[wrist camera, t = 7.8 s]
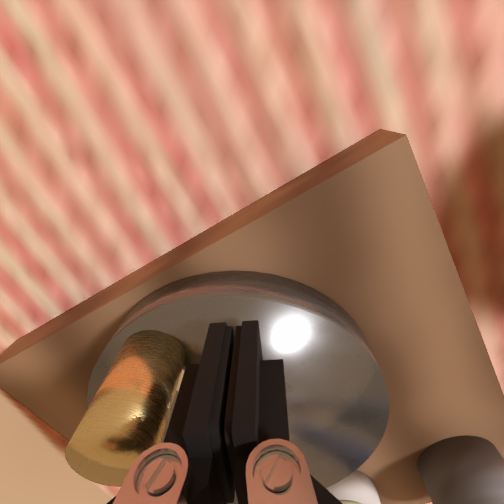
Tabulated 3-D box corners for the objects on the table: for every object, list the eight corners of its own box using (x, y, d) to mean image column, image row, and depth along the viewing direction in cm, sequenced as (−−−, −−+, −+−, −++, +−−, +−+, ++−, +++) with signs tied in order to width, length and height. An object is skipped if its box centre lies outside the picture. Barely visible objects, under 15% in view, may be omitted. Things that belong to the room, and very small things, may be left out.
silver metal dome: (53, 369, 15) (-59, 514, 10) (260, 207, 12) (262, 300, 6) (228, 491, 20) (216, 640, 14) (422, 401, 16) (507, 556, 10)
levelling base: (380, 129, 13) (456, 145, 8) (503, 433, 21) (579, 537, 16) (16, 340, 18) (-75, 430, 13) (225, 519, 26) (217, 617, 21)
